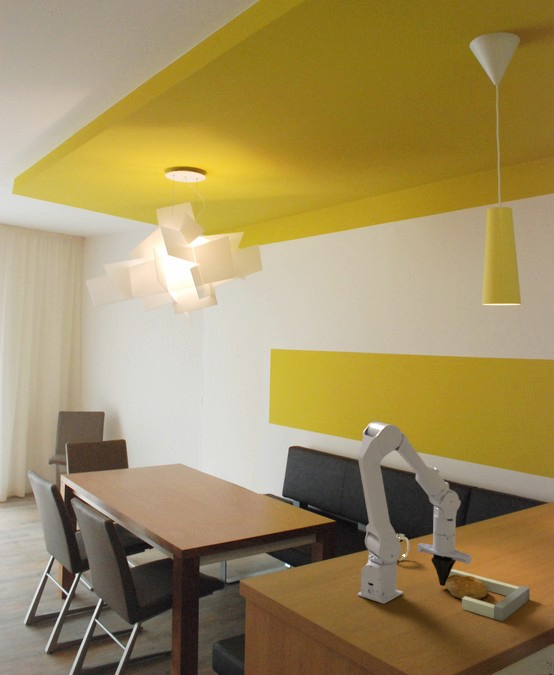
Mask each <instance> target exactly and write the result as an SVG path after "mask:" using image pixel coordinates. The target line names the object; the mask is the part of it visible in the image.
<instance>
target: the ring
mask: <svg viewBox="0 0 554 675" xmlns="http://www.w3.org/2000/svg"><path fill="white" fill-rule="evenodd" d="M405 535H406V534H405V533H404V534H403V533H396V538H397V540H398V541H399V542H401V540H402V542H403V543H404V545H405V549H404V553H403V555H401V556H400V557H399V559H398V560H397V562H398V561H399V562H402V560H405V559H406V558H407V556H408V555H409V552H410V548H411V547H410V541H409V539H408V537H406V536H405Z"/></svg>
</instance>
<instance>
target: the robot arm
mask: <svg viewBox="0 0 554 675" xmlns="http://www.w3.org/2000/svg"><path fill="white" fill-rule="evenodd" d="M393 451H396V452H397V453H398V454H399V455H400V456H401V457H402V459H403V461H405V462H406V463H407V464H408V466H409V467H411V469H412V470H413V471H414V472H415V481H416V482H417V483H418V485H419V486H420V487H421V488H422V489H423V491H424V492H425V493H426V495H427V496H428V500H429V503H430V504H432V505H433V529H432V530H433V532H432V544H428V543H424V542H421V543H418V544H417V552H418V553H426V554H429V555H433V557H432V558H431V562H432V564H433V567H434V569H435V571H436V574H437V577H438V582H439V586H442V587H445V586H446V585H445V584H446V583H445V582H446V580H447V579H448V578H449V574H450V571H451V570H452V569H453V567H454V565H455V563H456V562H460V563H464V564H465V565H470V564H471V563H472V556H473V555H472V554H468V553H465V552H463V551H461V550H457V549H456V527H457V526H456V523H457V522H456V520H457V518H456V517H457V512H458V510H459V508H460V506H461V503H462V502H461V500H460V499H459V494H458V493H457V492H456V491H455V490H452V489H450V484H449V482H447V481H445V480H444V479H443V478H442V476H441V475H440V470H439V469H438V468H437V467H434V466H433V465H426V463H425V461H424V460H423V459H422V458H421V456H420V455H419V453H418V451H416V448H414V447H413V444H412V443H411V442H410V441H409V439H408V438H407V436H406V434H405V433H404V432H402V431H401V429H400V428H399V426H397V425H394V424H389V423H385V422H382V421H378V420H375V421H372V422H370V423H368V425H367V426H366V427H365V429H364V430H363V431H362V441H361V445H360V448H359V451H358V456H357V458H358V459H357V461H358V465H359V467H358V468H359V471H360V476H361V483H362V490H363V495H364V499H365V500H364V501H365V507H366V511H367V518H368V524H367V525H366V526H365V532H366V535H365V538H364V544H365V547H366V548H367V550H368V558H367V559H368V561H367V563H366V564H365V565H364V566H363V567H362V568H361V572H360V592H358V593H357V596H359V597H362V598H364V599H369V600H372V601H374V602H378V603H380V604H387V603H388V602H390V601H392V600H394V599H396V598H397V597H399V596H401V595H403V593H404V591H403V590H400V589H399V590H398V589H397V574H398V573H397V572H398V571H397V570H398V569H397V567H398V566H397V563H398V559H399V557H401V556H402V552H403V550H402V544H401V543H400V542H401V541H398V539H397V538H396V535H397V533H396V531H395V529H394V527H393V526H392V524H391V520H390V515H389V509H388V503H387V497H386V492H385V486H384V480H383V473H382V469H381V462H382V460H383V459H384V458H385V457H386V456H388V454H390V453H392V452H393Z"/></svg>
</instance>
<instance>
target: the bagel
mask: <svg viewBox="0 0 554 675" xmlns="http://www.w3.org/2000/svg"><path fill="white" fill-rule="evenodd" d="M445 583H446V584H445V586H446V589H447V591H449V594H451V596H453V597H455V598H458V599H461V600H462V598H464V597H465V596H466V597H470V598H473V599H477V600H480V601H481V600H482V599H484V598H485V597H486V596H487V595H488V593H489V591H488V588H487V587H486V585H485V584H484V583H483V582H481V581H480V580H479V579H477V578H475V577H473V576H468V575H465V576H462V575H459V574H455V575H452V576H450V577H448V579H447V580H446V582H445Z"/></svg>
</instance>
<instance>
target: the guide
mask: <svg viewBox="0 0 554 675" xmlns="http://www.w3.org/2000/svg"><path fill="white" fill-rule="evenodd" d="M455 574H459V575H462V576H465V575H468V576H473V577H475V578H477V579H479V580H480V581H481V582H483V583H484V584H485V585H486V587H487V588H488V592H491V593H494V594H498V595H502V596H504V598H503V599H501V600H500V601H499V602H498V603H496V604H492V603H490V602H487V601H483V600H481V599H480V600H477V599H473V598H470V597H466V596H465V597H464V598H462V599H461V609H462V610H465V611H467V612H471V613H474V614H477V615H480V616H484V617H487V618H491V619H493V620H497V621H500V622H503V621H504V620H506V619H507V618H509V617H510V616H511V615H513V613H515V612H516V611H517V610H518V609H520V608H521V607H522V606H523V605H525V604H526V603H527V602H528V601H530V596H531V595H530V590H531V589H530V587H529V586H525V585H520V586H518V585H513V584H510V583H506V582H502V581H499V580H495V579H492V578H488V577H484V576H480V575H477V574H473V573H469V572H466V571H463V570H458V569H455V568H454V569H453V568H452V569H451V571H450V574H449V577H450V576H452V575H455ZM449 577H448V578H449Z"/></svg>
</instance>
